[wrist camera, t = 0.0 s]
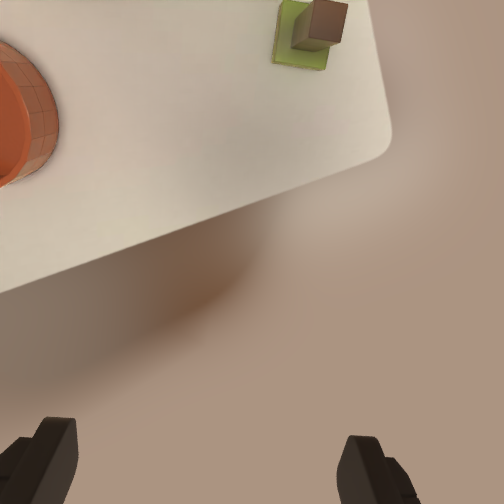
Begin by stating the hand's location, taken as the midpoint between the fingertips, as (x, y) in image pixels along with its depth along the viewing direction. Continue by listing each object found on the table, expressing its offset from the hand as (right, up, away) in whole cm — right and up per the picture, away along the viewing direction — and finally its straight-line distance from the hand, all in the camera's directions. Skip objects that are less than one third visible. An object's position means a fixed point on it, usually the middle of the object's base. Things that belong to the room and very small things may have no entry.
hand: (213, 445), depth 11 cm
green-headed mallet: (+6, +27, +26) cm, 38 cm away
